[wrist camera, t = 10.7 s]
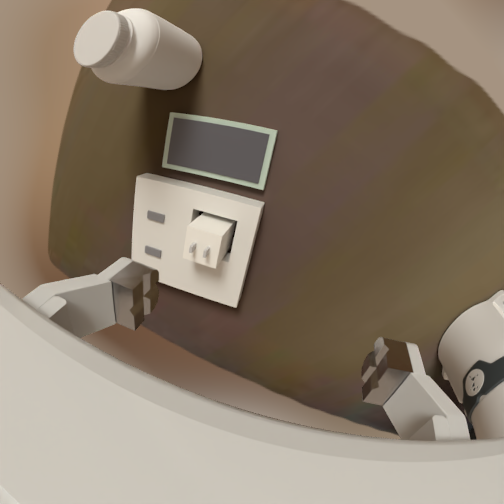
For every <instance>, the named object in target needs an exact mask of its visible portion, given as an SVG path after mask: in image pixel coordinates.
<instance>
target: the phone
mask: <svg viewBox="0 0 504 504" xmlns="http://www.w3.org/2000/svg"><path fill="white" fill-rule="evenodd" d="M277 133H278V131H277V130H273V129H268V128H264V127H259V126H254V125H249V124H244V123H239V122H234V121H228V120H223V119H217V118H211V117H204V116H197V115H190V114H182V113H174V112H170V117H169V122H168V129H167V135H166V141H165V148H164V155H163V163H162V167H164V168H169V169H174V170H179V171H184V172H188V173H193V174H198V175H202V176H207V177H211V178H216V179H220V180H224V181H228V182H233V183H237V184H241V185H245V186H249V187H253V188H257V189H261V190H264V189H265V184H266V180H267V176H268V172H269V167H270V163H271V159H272V154H273V150H274V146H275V142H276V137H277Z"/></svg>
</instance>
